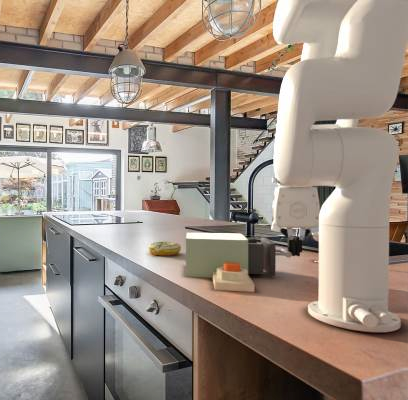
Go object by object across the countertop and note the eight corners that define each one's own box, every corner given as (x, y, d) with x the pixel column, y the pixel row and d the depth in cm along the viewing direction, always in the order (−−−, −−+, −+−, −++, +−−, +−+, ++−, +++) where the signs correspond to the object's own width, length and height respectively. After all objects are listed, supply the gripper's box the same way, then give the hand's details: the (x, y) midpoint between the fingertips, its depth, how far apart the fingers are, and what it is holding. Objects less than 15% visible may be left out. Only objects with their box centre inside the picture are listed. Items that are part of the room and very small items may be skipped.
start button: (241, 273, 78) (241, 265, 78) (224, 272, 79) (224, 264, 79) (239, 269, 81) (239, 262, 81) (222, 269, 82) (222, 261, 82)
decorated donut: (143, 252, 123) (143, 241, 123) (170, 250, 127) (170, 239, 127) (157, 257, 114) (157, 245, 113) (186, 255, 117) (186, 243, 117)
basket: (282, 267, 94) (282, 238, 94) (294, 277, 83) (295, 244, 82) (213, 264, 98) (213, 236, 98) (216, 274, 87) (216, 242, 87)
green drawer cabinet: (241, 268, 97) (241, 233, 97) (248, 279, 85) (248, 239, 84) (186, 266, 100) (186, 232, 100) (186, 276, 88) (185, 238, 88)
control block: (254, 292, 74) (254, 275, 74) (214, 289, 76) (214, 273, 76) (247, 280, 84) (247, 265, 84) (212, 278, 86) (212, 264, 86)
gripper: (265, 181, 86) (265, 256, 86) (334, 181, 82) (334, 259, 82) (260, 182, 93) (259, 251, 93) (323, 181, 89) (322, 253, 90)
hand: (294, 255), depth 88 cm, fingers closed
